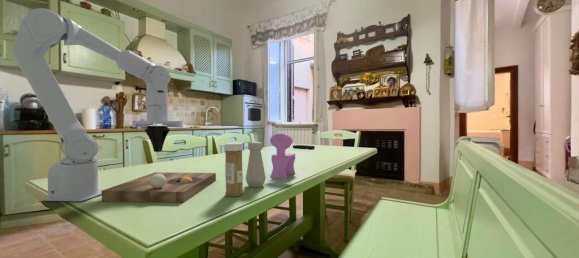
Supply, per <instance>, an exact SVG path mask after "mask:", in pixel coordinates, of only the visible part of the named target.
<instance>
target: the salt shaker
mask: <svg viewBox="0 0 579 258" xmlns="http://www.w3.org/2000/svg"><path fill="white" fill-rule="evenodd" d="M263 147H264V145H263V142H260V141H250V142H249V143H248V145H247V149H248V150H249V155H248V162H247V166H246V167H247V168H246V174H245V175H246V176H245V182H246V184H247V186H248V188H249V187H250V188H262V187H263V186H264V184H265V181H266V179H267V177H266V173H265V168H264V162H263V156H262V152H261V151H262V150H263Z"/></svg>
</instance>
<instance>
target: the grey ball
mask: <svg viewBox="0 0 579 258" xmlns="http://www.w3.org/2000/svg"><path fill="white" fill-rule="evenodd" d="M165 183H166V178H165V176H164V175H162V174H155V175H154V176H152V178H151V179H150V184H151V186H152V187H154V188H161V187H163V186H164V185H165Z"/></svg>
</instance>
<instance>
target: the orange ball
mask: <svg viewBox="0 0 579 258" xmlns="http://www.w3.org/2000/svg"><path fill="white" fill-rule="evenodd" d="M191 181H193V180H192V179H191V178H190V177H184V178H182V179H181V180H180V183H185V182H191Z"/></svg>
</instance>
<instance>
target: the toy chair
mask: <svg viewBox="0 0 579 258" xmlns="http://www.w3.org/2000/svg"><path fill="white" fill-rule="evenodd" d="M293 141H294V140H293V138H292V137H291V135H289V134H285V133H283V132H281V133H275V134H273V135H271V137H270V139H269V142H270V144H271V145H272V146H273V147H274V148H275V149H276V153H275V154H271V159H270V161H271V164H272V171H271V173H270V176H269V178H270V179H271V178H272V179H273V178H274V179H284V180H285V179H286V180H287V179H288V176H287V174H288V175H296V171H295V166H294V165H295V161H296V153H286V150H287V149H288V148H290V147H291V145H292V144H293Z"/></svg>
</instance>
